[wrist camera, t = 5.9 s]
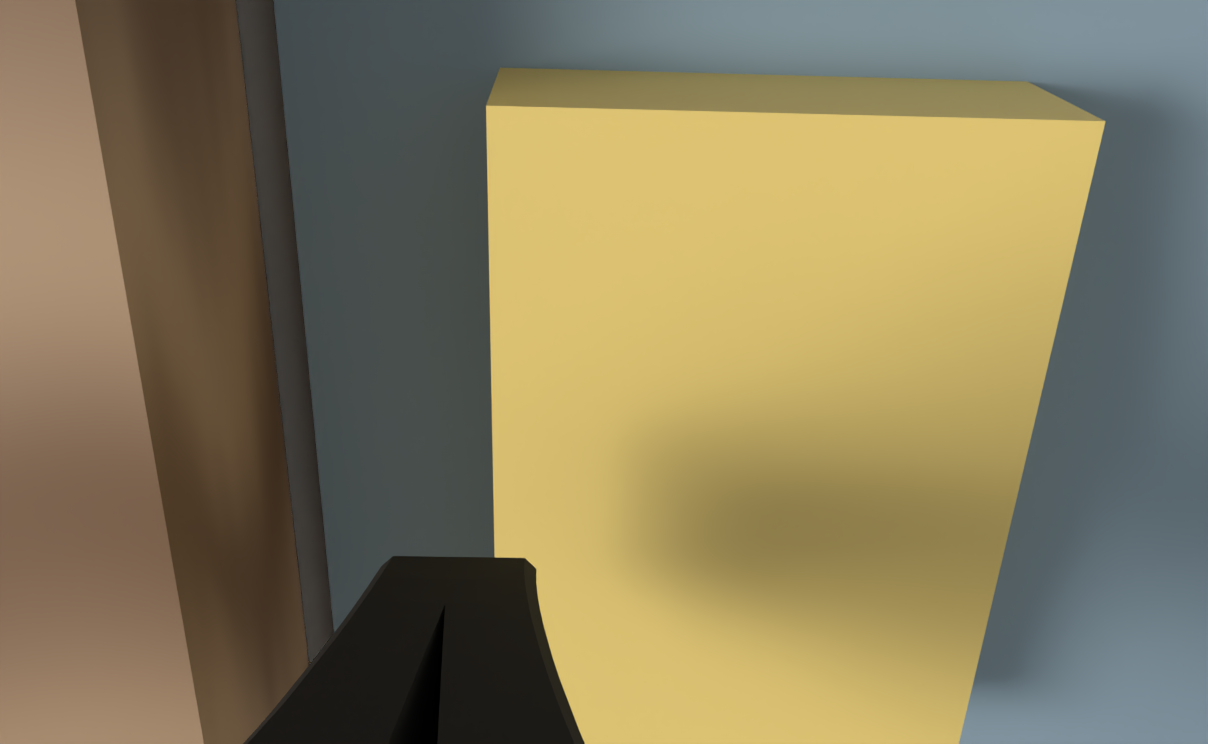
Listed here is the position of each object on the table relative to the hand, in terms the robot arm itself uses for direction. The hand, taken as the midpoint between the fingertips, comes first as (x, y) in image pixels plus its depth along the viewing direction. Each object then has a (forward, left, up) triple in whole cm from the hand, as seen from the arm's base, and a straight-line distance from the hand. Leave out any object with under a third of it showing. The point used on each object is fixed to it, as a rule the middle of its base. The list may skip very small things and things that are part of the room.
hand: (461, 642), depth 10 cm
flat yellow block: (0, -3, -2) cm, 4 cm away
